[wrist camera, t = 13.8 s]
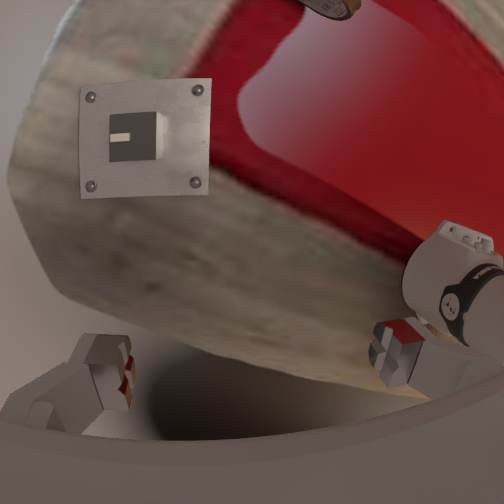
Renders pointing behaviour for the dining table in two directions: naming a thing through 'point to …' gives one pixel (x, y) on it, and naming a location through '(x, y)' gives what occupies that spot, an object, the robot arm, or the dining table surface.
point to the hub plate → (173, 145)
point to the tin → (333, 8)
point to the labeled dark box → (135, 136)
